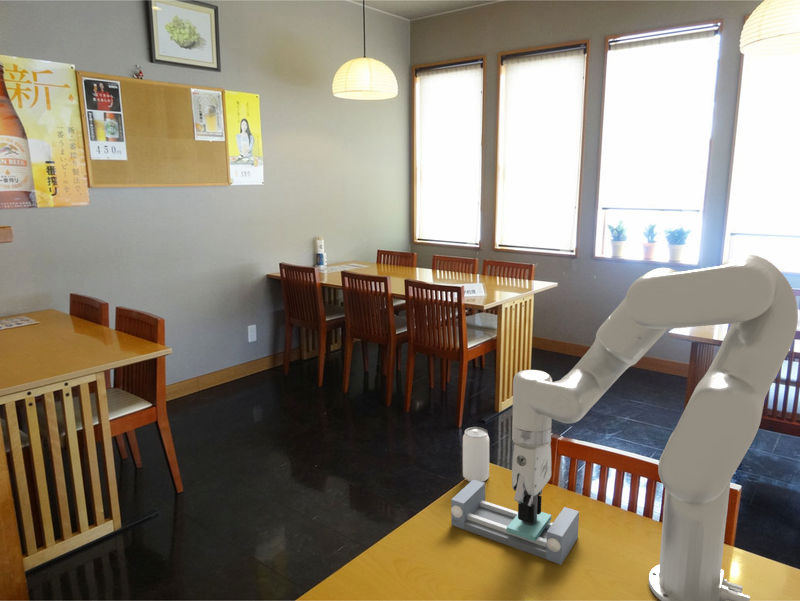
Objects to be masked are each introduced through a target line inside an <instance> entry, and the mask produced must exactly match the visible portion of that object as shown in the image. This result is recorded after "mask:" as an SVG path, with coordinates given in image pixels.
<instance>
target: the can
mask: <svg viewBox="0 0 800 601" xmlns="http://www.w3.org/2000/svg"><path fill="white" fill-rule="evenodd" d="M462 477H463V478H464V480H466V481H467V482H468V483H470V482H471V481H472V480H473V479H474V480H478V481H481V482H484V483H485V481H487V480H488V479H489V477H490V437H489V434H488V430H487V429H485V428H483V427H478V426H473V427H468V428H466V429H465V430H464V434H463V435H462ZM468 478H469V479H468Z"/></svg>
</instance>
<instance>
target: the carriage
mask: <svg viewBox="0 0 800 601" xmlns="http://www.w3.org/2000/svg"><path fill="white" fill-rule="evenodd" d="M524 496H526V497H529V494H525V493H524ZM537 502H538V494H537V495H535V496H533V505H534V522H533V523H532V524H531V523H528V522H525V521H522V520H519V519H518V514H517V516H516V517H515V518H514V519H513V520H512V522H511V523H510V524H509V525H508V526H507V532H509V533H512V534H515V535H517V536H520V537H523V538H526V539H529V540H532V541H536V540H537V538H538V537H539V535H540V534H541V533H542V531H543V530H544V529H545V527H546V526H547V525H548V523H549V522H551V520H552V514H551V513H547V512H544V511H541V513H540V514H537Z"/></svg>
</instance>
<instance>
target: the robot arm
mask: <svg viewBox="0 0 800 601" xmlns="http://www.w3.org/2000/svg"><path fill="white" fill-rule="evenodd" d="M798 312H799V311H798V302H797V298H796V295H795V292H794V289H793V288H792V286H791V283H790V282H789V281H788V279H787V278H786V276H785V275H784V274H783V272H781V271H780V269H779V268H778V267H776V266H775V265H774V264H773V263H771V262H770V261H769V260H768V259H766V258H764V257H761V256H759V255H754V254H741V255H736V256H734V257H731V258H729V259H727V260H725V262H723V263H722V264H721V265H719V266H712V267H706V268H705V267H704V268H699V269H692V270H686V271H678V270H676V269H673V268H668V267H659V268H654V269H651V270H650V271H648V272H646V273H645V274H643V275H642V276H640V277H638V278H637V279H635V280H634V281H633V282H632V284H631V285H630V286H629V288H628V289H627V292H626V295H625V297H624V298H623V300H621V302H620V303H619V304H618V306H617V307H616V308H615V309H614V310H613V311H612V313H611V314H610V315H609V316H608V317H607V319H606V320H605V321H604V322H603V323H602V324H601V325H600V327H599V328H598V330H596V333H595V340H594V341H593V344H592V345H591V346H590V348H589V349H588V350H587V351H586V353H585V354H584V355H582V357H581V359H580V360H578V362H577V363H576V364H575V365H574V366H573V368H572V369H571V370H570V371H569V372H568V373H567V374H565V375H564V376H563V377H561V379H559V380H555V381H553V378H552V377H551V375H550V374H549V373H547V372H545V371H543V370H538V369H526V370H525V369H524V370H519V371H518V372H517V373H516V374H515V375H514V376H513V382H512V419H511V420H512V423H511V424H512V426H511V427H512V428H511V429H512V431H511V432H512V433H511V434H512V436H511V437H512V438H511V439H512V441H513V442H514V447H513V455H512V464H511V465H512V467H511V488H512V490H513V491H515V494H514V501H515V502H517V503H518V504H517V506H518V507H517V512H518V519H519V520H522V521H525V522H528V523H531V524H532V523H533V522H534V505H533V496H535V495H537V494H538V502H537V514H540V513H541V512H542V494H543V489H544V487H545V486H546V485H547V483H548V482H549V481H550V480H551V477H552V448H551V447H552V445H551V442H552V424H553V423H552V422H553V421H552V420H554V421H557V422H559V423H563V424H575V423H577V422H579V421H580V420H582V419H583V418H584V417H585V416H586V414H587V413H588V412H589V410H591V408H593V406H594V405H596V403H598V401H599V400H600V399H601V397H602V396H604V394H605V393H606V392H607V391H608V390H609V389H610V388H611V387H612V385H613V384H614V383H615V382H616V381H617V380H618V379H619V378H620V376H622V375H623V373H625V372H626V370H628V369H629V368H630V367H632V366H634V365H636V364H637V363H638V361H640V360H641V359H642V357H644V356H645V355H646V354H647V352H648V351H649V350H650V349H652V347H653V346H654V345H655V343H656V342H658V340H659V339H661V337H662V336H663V335H664V334H665V333H666V331H668V329H681V328H682V329H683V328H684V329H685V328H686V329H687V328H695V327H705V326H706V327H707V326H708V327H709V326H716V325H717V326H718V325H727V324H729V328H728V330H727V331H726V334H725V336H724V338H723V340H722V342H721V345H720V347H719V350H718V351H717V353H716V355H715V356H714V359H713V360H712V362H711V365H710V366H709V367H708V370H706V372H705V374H704V376H703V377H702V378H701V380H700V381H699V382H698V383H697V385H696V386H695V388H694V390H693V392H692V394H691V396H690V398H689V400H688V403H687V404H686V406H685V408H684V410H683V412H682V414H681V416H680V419H679V420H678V423H677V424H676V426H675V427H674V430H673V431H672V432H671V434H670V436H669V438H668V440H667V442H666V445H665V448H664V449H663V451H662V453H661V455H660V457H659V461H658V466H657V467H658V471H657V472H658V475H659V479H660V481H661V484H662V485H663V487H664V488H665V489H664V501H663V503H664V504H663V511H662V512H663V513H662V514H663V515H662V524H661V526H662V528H661V541H660V552H659V564H658V565H656V566H654V567H653V568H651V570H650V572H649V573H648V585H649V588H650V591H651V592H652V593H653V594H654V596H655V597H656V598H657V599H659V601H750V600H751V595H749V594H747V593H743V587H744V586H743V585H740V584H737V583H735V582H734V583H733V582H730V581H728V579H726V578H724V576H725V575H724V574H725V570H724V569H722V564H723V554H724V553H723V552H724V545H725V535H726V534H725V533H726V524H727V518H728V517H727V516H728V510H729V509H728V508H729V507H728V506H729V497H730V487H731V481H732V478H733V476H734V474H735V473H736V471H737V469H738V468H739V466H740V464H741V463H742V461H743V459H744V457H745V455H746V454H747V452H748V450H749V448H750V447H751V445H752V443H753V441H754V440H755V438H756V435H757V433H758V430H759V427H760V425H761V421H762V417H763V410H764V404H765V399H766V397H767V395H768V393H769V391H770V389H771V387H772V385H773V383H774V381H775V380H776V377H777V376H778V374H779V371H780V369H781V368H782V366H783V364H784V362H785V360H786V357H787V356H788V353H789V352H790V349H791V347H792V345H793V342H794V340H795V336H796V332H797V327H798V321H799V313H798ZM524 493H525V494H529V497H526V496H524Z"/></svg>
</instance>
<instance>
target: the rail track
mask: <svg viewBox="0 0 800 601" xmlns="http://www.w3.org/2000/svg"><path fill="white" fill-rule="evenodd" d="M450 502H451V503H450V504H451V505H450V506H451V509H450V510H451V512H450V513H451V514H450V515H451V516H450V518H451V526H454V527H455V528H458V529H461V530H465V531H467V532H470V533H473V534H476V535H478V536H481V537H484V538H487V539H489V540H492V541H495V542H498V543H500V544H503V545H506V546H508V547H512V548H514V549H516V550H519V551H522V552H524V553H528V554H531V555H534V556H536V557H539V558H542V559H544V560H547V561H550V562H551V563H552V562H553V563H555V564H557V565H560V566H561V565H562V564H563V563H564V561H565V559H566V558H567V556H568V554H569V553H570V551H571V550H572V548H573V546H574V545H575V543H576V541H577V540H578V538H579V518H580V511H579V510H576V509H572V508H569V507H566V506H564V507H563V508H562V510H561V511H560V512H559V513H558V515H557V516H556V518H555V519H554V521H553V522H551V521H550V522H549V523H548V525H547V526H546V527H545V529H544V530H543V531H542V533H541V534H540V535H539V537H538V538H537V540H536V541H532V540H529V539H526V538H523V537H520V536H517V535H515V534H512V533H509V532H507V526H508V525H509V524H510V523H511V522H512V520H513V519H514V518H515V517H516V516H517V514H518V510H517V511H516V510H513V509H510V508H508V507H505V506H502V505H499V504H495V503H492V502H490V501H489V502H488V501H486V482H485V481H484V482H481V481H478V480H474V479H473V480H472V481H471V482H468V483H467V484H466V485H465V487H463V488H462V489H460V491H459V492H458V493H457V494H456V495H454V496H453V497H452V498H451V499H450Z"/></svg>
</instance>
